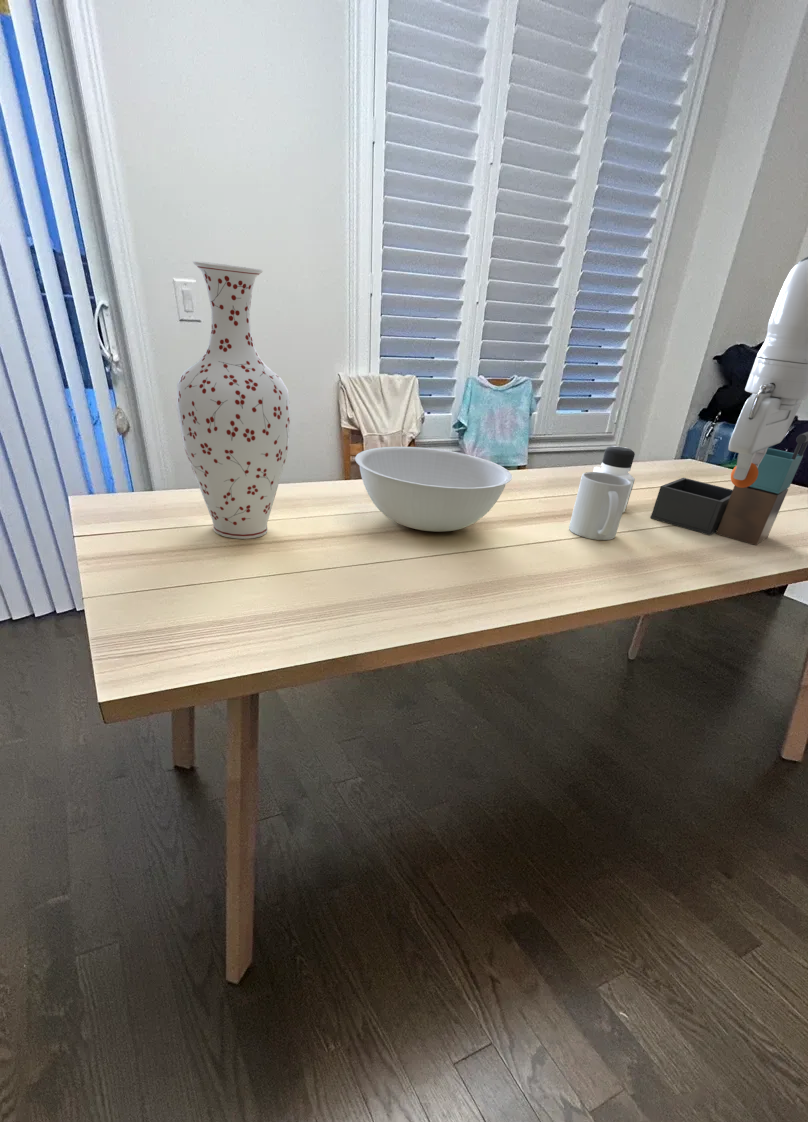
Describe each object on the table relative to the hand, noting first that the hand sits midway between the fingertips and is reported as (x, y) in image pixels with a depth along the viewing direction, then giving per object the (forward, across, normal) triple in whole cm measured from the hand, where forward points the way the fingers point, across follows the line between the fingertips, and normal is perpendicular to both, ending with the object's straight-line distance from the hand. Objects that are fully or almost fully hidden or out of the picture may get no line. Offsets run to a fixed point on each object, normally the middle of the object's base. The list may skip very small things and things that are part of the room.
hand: (743, 477), depth 104 cm
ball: (0, 0, 0) cm, 0 cm away
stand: (+15, +25, +1) cm, 29 cm away
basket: (+15, +25, +12) cm, 32 cm away
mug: (+15, -4, +21) cm, 26 cm away
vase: (+14, -57, +58) cm, 83 cm away
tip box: (+5, +25, +1) cm, 26 cm away
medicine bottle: (+15, +17, +28) cm, 36 cm away
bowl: (+14, -27, +43) cm, 53 cm away
